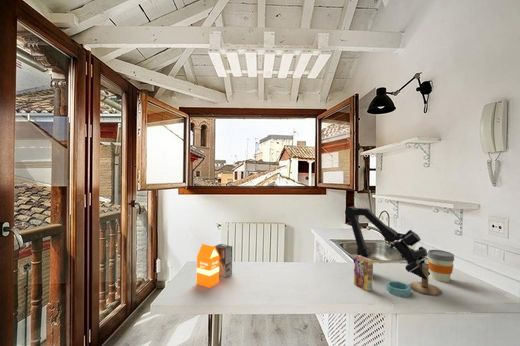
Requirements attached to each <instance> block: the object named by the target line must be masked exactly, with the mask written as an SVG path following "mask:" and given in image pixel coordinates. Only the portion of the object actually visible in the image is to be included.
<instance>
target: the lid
mask: <svg viewBox="0 0 520 346" xmlns="http://www.w3.org/2000/svg"><path fill="white" fill-rule="evenodd" d="M422 271H423V273H424V274H425V276H426V277H427V280H425V279H423V278H421V281H413V282H410V283H409V284H410V287H411V288H412V289H413V290H415V291H417V292H419V293H418V294H420V293H423V294H427V295H426V296H428V295H438V294H439V293H440V290H441V289H440V288H439V287H437V286H435V285H433V284H431V283H429V276H430V275H429V272H430V269H429V264H428V262H425V263H422ZM413 290H412V291H413ZM417 292H416V293H417ZM423 294H422V295H423Z"/></svg>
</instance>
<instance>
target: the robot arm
mask: <svg viewBox="0 0 520 346" xmlns="http://www.w3.org/2000/svg"><path fill="white" fill-rule="evenodd" d="M344 214H345V217H346V218H347V221H349V222H350V225H351V229H352V232H353V235H354V239H355V243H356V246H357V247H356V256H358V255H360V256H363V257H366V258H368V259H371V257H372V254H373V253H372V250H371V247H370V246H367V245H366V242H365V239H364V236H363V232H362V229H361V226H360V222H359V221H360V219H359V218H360V216H364V217H365V218H366V219H367V220H368V221H369V222H371V224H372V225H373V226H374V227H375V228H377V229H378V231H379V232H380V233H381V236H382V237H383V238H384V240H386V241H387V242H388V243H390V247H389V248H390V250H392V249H393V248H394V249H395V251H397V252H398V253H399V254H400V255H401V256H400V257H401V259H404V260H405V261H406V266H405V270H406V271H407V272H408V273H410V274H411V273H412V274H413V275H416V276H418V277H419V278H421V279H422V278H423V279H425V280H427V277H426V276H425V274H424V273H423V271H422V263H426V262H425V261H426V258H425V257H428V250H427V249H426V248H425V247H424V246H419V247H418V249H416V250H414V249H413V248H410V247H413V246H414V245H415V244H417V243H418V242H420V241H421V237H420V236H419V235H418V234H417V233H416V232H415V231H413V230H412V229H409V230H408V231H407V232H405V233H404V234H402V233H399V232H397V231H396V230H395V229H393V228H392V227H390V226H388V225H387V224H385V223H384V222H383V221H382V220H381V219H380V218H378V216H376V214H375V213H373V212H372V211H371V209H369V208H367V207H366V208H363V207H362V208H361V207H360V208H359V207H356V206H349V207H347V208H345V211H344ZM401 239H402V240H401ZM409 246H410V247H409ZM353 263H354V264H355V258H353ZM353 271H355V268H354V269H353ZM429 276H430V271H429Z"/></svg>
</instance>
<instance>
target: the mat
mask: <svg viewBox="0 0 520 346" xmlns="http://www.w3.org/2000/svg"><path fill="white" fill-rule="evenodd" d="M410 284H411V283H409V284H407V285H408V286H409V287H410ZM410 288H411V287H410ZM411 291H413V292H414V293H417V294H419V295H423V296H430V297H439V296H442V295H443V291H442V290H441V289H440V293H439V294H438V295H427V294H423V293H419V292H417V291H415V290H413V289H412V288H411Z"/></svg>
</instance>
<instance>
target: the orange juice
mask: <svg viewBox="0 0 520 346" xmlns="http://www.w3.org/2000/svg"><path fill="white" fill-rule="evenodd" d="M214 246H215V245H209V244H204V243H202V244H201V247H200V248H199V251H198V252H197V254H196V255H197V256H196V284H197V285H199V284H200V286H202V285H203V286H202V287H205V286H206V288H212V287H213V286H215V285H217V284H218V283H219V284H220V276H219V254H218V252H217V250H216V248H215V247H214Z"/></svg>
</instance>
